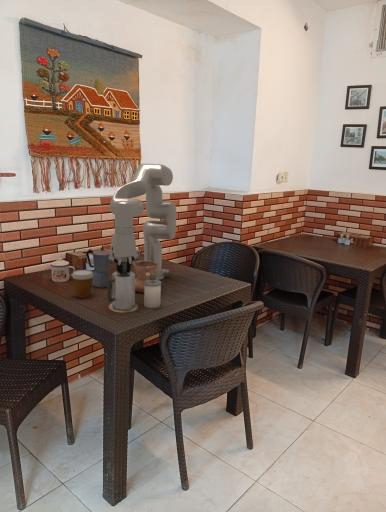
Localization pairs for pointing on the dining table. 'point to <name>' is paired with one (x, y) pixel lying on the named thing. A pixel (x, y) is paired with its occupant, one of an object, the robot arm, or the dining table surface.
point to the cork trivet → (123, 311)
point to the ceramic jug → (143, 273)
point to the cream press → (152, 292)
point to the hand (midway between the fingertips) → (123, 272)
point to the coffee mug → (134, 259)
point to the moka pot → (100, 266)
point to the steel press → (122, 291)
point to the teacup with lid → (60, 270)
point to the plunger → (124, 267)
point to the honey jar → (82, 283)
